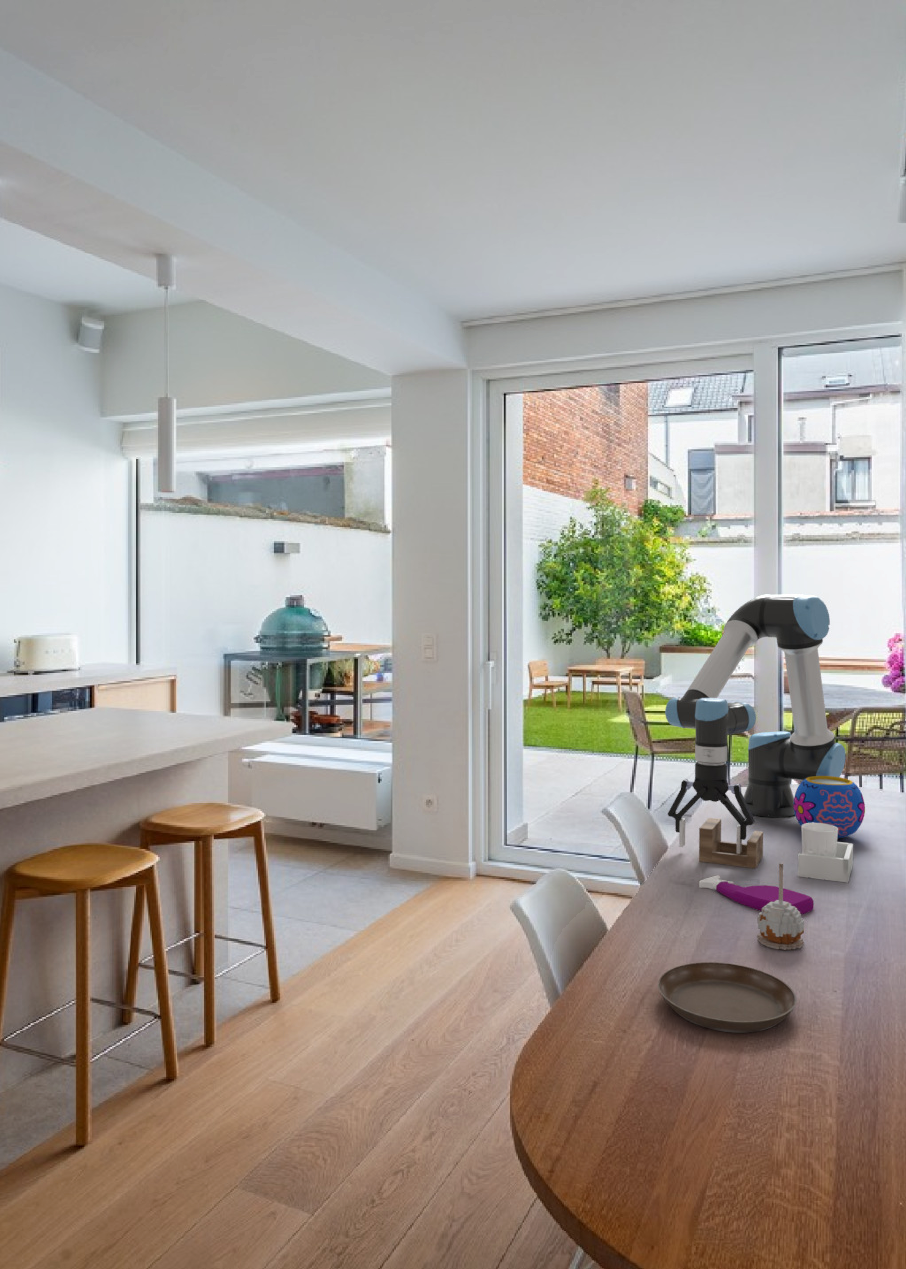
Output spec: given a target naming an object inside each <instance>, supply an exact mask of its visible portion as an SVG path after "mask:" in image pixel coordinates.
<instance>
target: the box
mask: <svg viewBox="0 0 906 1269" xmlns="http://www.w3.org/2000/svg"><path fill="white" fill-rule="evenodd" d="M853 861H854V843H851V842H841V841H837V851H836V858H835V857H827V856H818V855H809V854H802V852H801V853H800V852H799V853H798V854H797V877H801V878H808V877H811V878H810V879H819V880H824V879H825V880H824V881H833V882H843V883H849V881H850V876H851V874H852V868H853V865H854V862H853Z"/></svg>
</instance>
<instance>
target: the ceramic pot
mask: <svg viewBox="0 0 906 1269" xmlns="http://www.w3.org/2000/svg"><path fill="white" fill-rule="evenodd" d="M865 805H866V804H865V800H864V796H863V794H862V791H861V789H860V788H859V786H858V785H857V784H856V783H855V782H854V781H853V780H851V779H848V778H845V777H841V776H840V777H833V776H812V777H808V778H806V779H804V780H803V781H800V783H799V784H798V786H797V788H796V790H795V794H794V803H793V807H794V813H795V815H794V817H795V819H796V821H797V823H798V825H799V826H800V827H801V825H803V824H806V823H823V824H829V825H833V826H835V827H837V828H838V837H837V840H838V839H843V838H845V837H849V836H851V835H853V834H855V833H856V832H857V831H858V830H859V828H860V827H861V825H862V823H863V821H864V819H865V818H864V817H865V814H866V806H865Z"/></svg>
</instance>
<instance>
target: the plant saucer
mask: <svg viewBox="0 0 906 1269" xmlns="http://www.w3.org/2000/svg"><path fill="white" fill-rule="evenodd" d="M657 987H658V990H659V993H660V994H661V996H662V998H663V1000H664V1001H665V1002H666V1003H667V1004H668V1006H669V1007H670V1008H671V1009H672V1010H673V1011H674V1012H675V1013H676V1014H678V1015H679V1016H680V1017H682V1018H683V1019H685V1020H686V1021H688V1022H690V1023H693V1024H695V1025H697V1026H700V1027H702V1028H705V1029H710V1030H713V1031H716V1032H717V1031H719V1032H725V1033H734V1034H735V1033H741V1034H743V1033H744V1034H745V1033H756V1032H761V1031H765V1030H767V1029H771V1028H773V1027H774V1026H776V1025H778V1024H779V1023H781V1022H782V1021H784V1020H785V1019H786V1018H787V1017H788V1016H790V1014H791V1013H792V1011H793V1009H794V1008H795V1006H796V1004H797V995H796V993H795V991H794V990H793V989H792V987H790V986H789V985H788V984H787V983H786V982H784V981H783V980H782V979H780V978H778V977H776V976H774V975H773V974H770V973H768V972H765V971H762V970H760V969H757V968H752V967H748V966H744V965H740V964H734V963H726V962H715V961H714V962H712V961H711V962H710V961H709V962H708V961H707V962H706V961H705V962H692V963H686V964H682V965H678V966H675V967H672V968H670V969H668V970H666V971H665V972H664V973H663V974H662V975H661V976H660V977H659V979H658V980H657Z"/></svg>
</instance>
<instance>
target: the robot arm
mask: <svg viewBox="0 0 906 1269" xmlns="http://www.w3.org/2000/svg"><path fill="white" fill-rule="evenodd" d="M830 625H831V623H830V614H829V610H828V608H827V605H826V604H825V602H824V601H823V600H822V599H821V598H820V597H819V596H816V595H807V594H801V593H800V594H762V595H759V596H756V597H753V598H751V599H750V600H748V601H747V602H745V603H744V604H742V605H741V606H740V607H739V608H738V609H736V611H735V612H733V613H732V615H730V617H729V618H728V620H727V621H726V623H725V624H724V626H723V634H722V636H721V638H720V639H719V640H718V642H717V643H716V645H715V646H714V648H713V650H712V651H711V652H710V654H709V656H708V657H707V659H705V660H706V661H705V662H704V664H703V665H702V667H701V668H700V670H699V671H698V673H697V674H696V676H695V677H694V679H693V680H692V682H691V684H690V685H689V687H688V688H687V690H686V692H685V693H684V694H683V696H682V697H672V698H671V699H669V700H668V701H667V703H666V706H665V711H664V713H665V719H666V720H667V723H669V725H671V726H673V727H677V728H683V729H692V730H695V744H694V745H695V746H694V749H695V750H694V760H695V761H696V762H695V764H694V781H691V780H689V779H687V778H685V779H683V780H682V781H681V784H680V790H679V792H678V794H677V795H676V797H675V799H674V801H673V803H672V805H671V807H670V809H669V810H668V812H667V815H668V817H671V818H673V819H674V820H675V824H674V825H675V828H674V829H675V830H674V831H675V832H676V833H679V838H678V839H679V847H680V848H684V846H685V845H686V818H683V816H684V815H685V814H686V813H688V811H689V810H690V809H691V808H692V807H693V806H694V805H695V804H696V802H698V800H700V799H701V800H702V801H705V802H707V801H710V802H714V803H715V802H716V803H717V802H720V803H721V804H722V805H723V806H724V807H725V809H727V811H728V812H729V813H730V814H731V816H732V817H733V819H734V820H735V821H736V822H737V823H738V824H737V826H736V843H737V851H736V854H739V855H740V853H741V851H742V844H743V840H744V841H745V840H746V838H747V826H752V825H753V824H754V823H755V817H754V816H759V817H769V818H786V817H792V816H795V813H794V807H793V803H794V797H795V795H794V794H793V791H792V790H793V789H792V787H791V780H794V781H799V782H802V781H803V780H804V779H806V778H808V777H812V776H833V777H841V775H842V773H843V771H844V767H845V765H846V764H845V763H846V757H847V756H846V749H845V747H844V745H843V744H842V743H839V742H836V740H835V734H834V732H833V731H832V730H830V729H828V722H827V716H826V715H827V713H826V704H825V698H824V690H823V681H822V673H821V672H822V670H821V664H820V658H819V657H820V656H819V648H820V647H821V646H822V644H823V642H824V639H825V638H826V637H827V636H828V633H829V631H830V627H829V626H830ZM762 638H776V643H777V644H776V645H777V647H778V649H779V650H781V651H783V652H784V653H783V654H784V660H785V667H786V668H785V669H786V675H787V682H788V684H787V685H788V690H789V698H790V705H791V712H792V714H791V715H792V722H793V726H794V727H793V729H794V732H793V733H791V732H790V731H782V730H781V731H765V732H757V733H754V734H752V735H750V737H749V739H748V747H747V751H748V756H747V758H748V759H747V760H748V763H747V764H748V765H747V768H748V769H747V770H748V771H747V775H748V776H747V779H748V780H747V786H746V789H745V791H744V795H743V793H742V786H741V784H740V783H736V784H729V783H728V764H727V762H728V737H729V736H730V735H737V734H742V733H745V732H749V731H750V730H751V729H753V727H754V726H755V725H756V721H757V715H756V711H755V709H754V708H753V706H752V705H750V704H749V703H748V702H741V701H740V702H739V701H735V702H728V701H727V700H726V699H725V698H718V697H719V695H720V694H721V692H722V690H724V687H726V685H727V682H728V681H729V680H730V678H731V676H733V673H734V671H735V670H736V668H737V667H738V665H739V664H740V662H741V660H742V659H743V657H744V656H745V654H746V652H747V651H748V650H749V648H751V647H754V646H755V645H756V644H757V642H758V641H759V640H760V639H762ZM691 788H693V789H694V791H695V792H696V794H695V795H694V796H692V797H691V799H690V800H689V801H688V802H687V803H686V804H685V805H684V806H683V807H682V809H681V810H680V811H677V810H678V808H679V806H680V805H681V803H682V800H683V799H684V797H685V795H686V793H687V792H688V790H690V789H691ZM728 791H730V792H731V793H732V794H733V795H734V797H735V799H736V802H737V804H738V805H739V808H740V809H741V812H742V813H741V812H740V811H739V810H738V808H737V807H736V806H735V804H734V803H733V802H732V801H731V800H730V798H729V796H728V795H727V792H728Z"/></svg>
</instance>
